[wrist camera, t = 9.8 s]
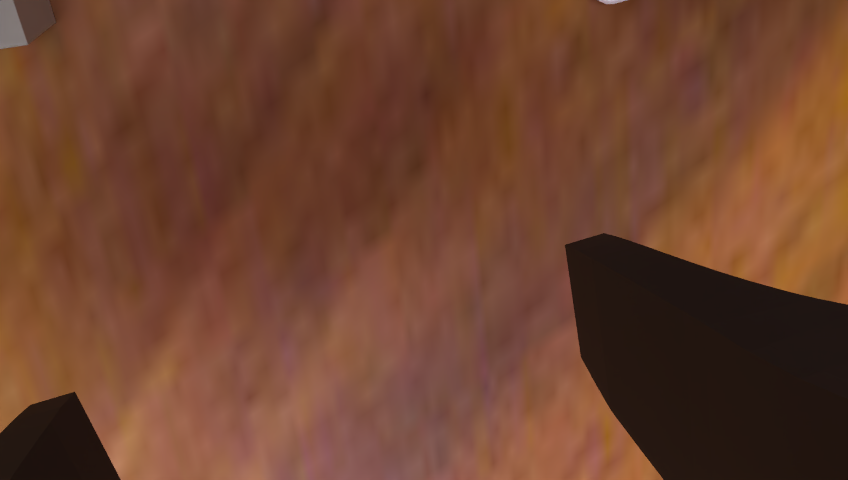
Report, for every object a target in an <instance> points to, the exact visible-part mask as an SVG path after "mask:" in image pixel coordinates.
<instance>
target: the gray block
mask: <svg viewBox="0 0 848 480" xmlns="http://www.w3.org/2000/svg"><path fill="white" fill-rule="evenodd" d="M55 23H56V20H55V17H54V14H53V11H52V7H51V4H50V1H49V0H0V49H3V48H10V47H17V46H23V45H28V44H30V43H31V42H32V41H33V40H35V39H36V38H37V37H38V36H40V35H41V34H42V33H43V32H45V31H46V30H47V29H48V28H50V27H51V26H52V25H53V24H55Z"/></svg>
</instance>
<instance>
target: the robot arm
mask: <svg viewBox="0 0 848 480" xmlns="http://www.w3.org/2000/svg"><path fill="white" fill-rule="evenodd" d="M597 1H600V2H602V3H605V4H615V3H619V2H623V1H627V0H597ZM565 248H566V255H567V262H568V269H569V276H570V283H571V290H572V297H573V304H574V311H575V318H576V325H577V332H578V339H579V346H580V353H581V358H582V360H583V361H584V363H585V365H586V367H587V369H588V371H589V372H590V374H591V376H592V378H593V380H594V382H595V383H596V385H597V387H598V389H599V390H600V392H601V394H602V396H603V397H604V399H605V401H606V402H607V404H608V406H609V408H610V409H611V411H612V412H613V413H614V415H615V416H616V417H617V419H618V420H619V422H620V423H621V424H622V426H623V427H624V428H625V429H626V431H627V432H628V433H629V435H630V436H631V437H632V439H633V440H634V441H635V443H636V444H637V445H638V447H639V448H640V449H641V451H642V452H643V453H644V455H645V456H646V457H647V458H648V460H649V461H650V462H651V464H652V465H653V466H654V468H655V469H656V470H657V471H658V473H659V474H660V475H661V477H662V478H663V479H664V480H848V305H846V304H841V303H836V302H831V301H826V300H821V299H816V298H812V297H808V296H804V295H799V294H795V293H791V292H787V291H784V290H780V289H776V288H773V287H769V286H766V285H762V284H758V283H755V282H751V281H747V280H744V279H741V278H738V277H734V276H731V275H728V274H725V273H722V272H719V271H715V270H712V269H709V268H706V267H703V266H700V265H697V264H694V263H691V262H689V261H686V260H683V259H680V258H677V257H674V256H671V255H669V254H666V253H663V252H660V251H657V250H654V249H652V248H649V247H646V246H643V245H640V244H637V243H634V242H631V241H629V240H625V239H622V238H619V237H616V236H612V235H608V234H604V233H603V234H600V235H597V236H593V237H590V238H587V239H583V240H580V241H577V242H573V243H570V244H566V245H565ZM0 480H120V478H119V476H118V474H117V472H116V470H115V468H114V466H113V464H112V462H111V460H110V459H109V457H108V455H107V453H106V451H105V449H104V447H103V445H102V443H101V441H100V439H99V437H98V435H97V434H96V432H95V430H94V428H93V426H92V424H91V422H90V420H89V418H88V416H87V414H86V412H85V410H84V409H83V407H82V405H81V403H80V401H79V399H78V397H77V395H76V393H75V392H72V393H69V394H66V395H62V396H59V397H56V398H52V399H49V400H46V401H42V402H39V403H36V404H32V405H30V406H29V407H28V408H26V409H25V410H24V411H23V412H22V413H21V414H20V415H18V416H17V417H16V418H15V419H14V420H13V421H12V422H11V423H10V424H9V425H8V426H7V427H6V428H5V429H4V430H3V431H2V432H1V433H0Z"/></svg>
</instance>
